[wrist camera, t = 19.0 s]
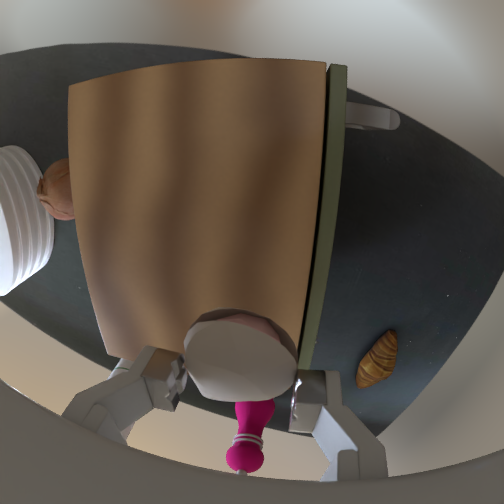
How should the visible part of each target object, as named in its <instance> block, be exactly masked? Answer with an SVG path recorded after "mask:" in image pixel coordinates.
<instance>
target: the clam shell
mask: <svg viewBox="0 0 504 504" xmlns="http://www.w3.org/2000/svg"><path fill="white" fill-rule="evenodd" d="M184 347H185V365H186V367H187V370H188V372H189V374H190V376H191V377H192V379H193V381H194V382H195V384H196V385H197V387H198V389H199V390H200V392H201V394H202V395H203V396H205V397H207V398H210V399H214V400H220V401H231V402H242V401H262V400H269V399H271V398H274V397H277V396H279V395H282V394H283V393H284V392H285V391H286V390H287V389H288V388H289V387H290V386H291V385H292V384H293V383H294V381H295V379H296V373H297V368H298V353H297V349H296V345H295V343H294V342H293V340H292V339H291V337H290V336H289V335H288V333H287V332H286V331H285V330H284V329H283V328H281V327H280V326H279V325H277V324H276V323H275V322H274V321H272V320H271V319H270V318H269V317H265V316H262V315H259V314H257V313H254V312H252V311H249V310H244V309H238V308H231V307H218V308H215V309H213V310H210V311H208V312H205V313H203V314H201V315H200V317H199V318H198V319H197V320H196V321H195V322H194V323H193V324H192V325H191V326H190V329H189V331H188V332H187V335H186V337H185V340H184Z"/></svg>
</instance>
